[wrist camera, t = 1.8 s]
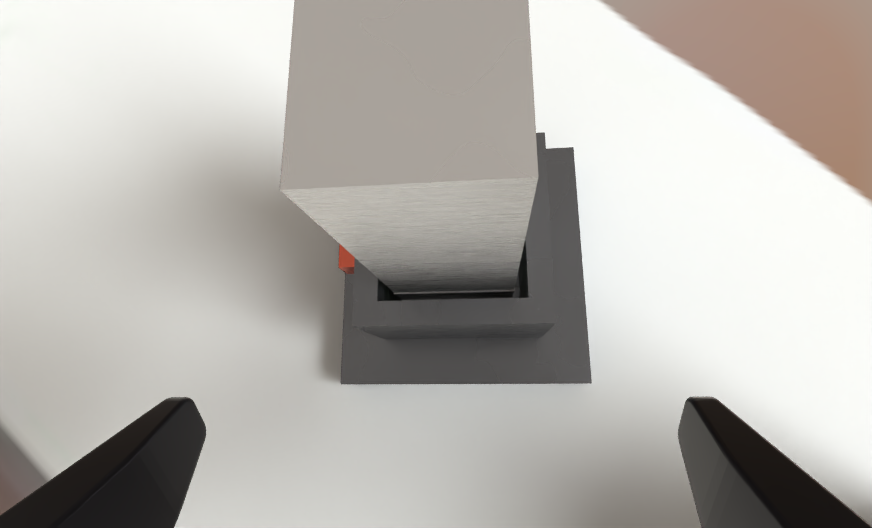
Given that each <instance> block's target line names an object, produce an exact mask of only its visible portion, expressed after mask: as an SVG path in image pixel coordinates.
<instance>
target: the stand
mask: <svg viewBox="0 0 872 528" xmlns="http://www.w3.org/2000/svg"><path fill="white" fill-rule="evenodd" d="M536 144H537V161H538V181H537V186H536V191H535V195H534V200H533V205H532V209H531V214H530V219H529V223H528V228H527V233H526V237H525V242H524V246H523V251H522V256H521V260H520V265H519V270H518V274H517V279H516V284H515V293H513V298H494V299H450V300H407V301H402V299H401V298H400V297H398V296H395V295H394V292H393V291H392V290H391V289H390V288H388V287H387V286H386V285H385V284H384V283H383V282H382V281H381V280H379V279H378V278H377V277H376V276H375V275H374V274H373V273H372V272H371V271H369V270H368V269H367V268H366V267H365V266H364V265H363V264H362V263H361V262H359V261H358V260H357V259H356V258H355V257H354V256H353V255H352V254H350V253H349V252H348V251H347V250H346V249H345V248H344V247H343V246H342V245H340V246H339V268H340V269H341V270H342V271H344V272H345V296H344V320H343V344H342V367H341V384H551V383H592V382H591V370H590V357H589V344H588V331H587V318H586V305H585V292H584V279H583V266H582V253H581V241H580V228H579V215H578V202H577V189H576V176H575V163H574V150H573V147H571V148H553V149H546V146H545V133H536Z"/></svg>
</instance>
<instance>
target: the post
mask: <svg viewBox="0 0 872 528" xmlns="http://www.w3.org/2000/svg"><path fill="white" fill-rule="evenodd" d="M537 181H538V161H537V144H536V126H535V109H534V92H533V75H532V57H531V40H530V23H529V5H528V0H295V2H294V14H293V27H292V40H291V53H290V66H289V78H288V91H287V104H286V117H285V129H284V142H283V155H282V168H281V181H280V191H281V192H282V193H284V194H285V195H286V196H287V197H288V198H289V199H290V200H291V201H292V202H294V203H295V204H296V205H297V206H298V207H299V208H300V209H301V210H303V211H304V212H305V213H306V214H307V215H308V216H309V217H310V218H311V219H313V220H314V221H315V222H316V223H317V224H318V225H319V226H320V227H321V228H323V229H324V230H325V231H326V232H327V233H328V234H329V235H330V236H332V237H333V238H334V239H335V240H336V241H337V242H338V243H339V244H340V245H342V246H343V247H344V248H345V249H346V250H347V251H348V252H349V253H350V254H352V255H353V256H354V257H355V258H356V259H357V260H358V261H359V262H361V263H362V264H363V265H364V266H365V267H366V268H367V269H368V270H369V271H371V272H372V273H373V274H374V275H375V276H376V277H377V278H378V279H379V280H381V281H382V282H383V283H384V284H385V285H386V286H387V287H388V288H390V289H391V290H392V291H393V292H394V295H395V296H398V297H400V298H401V299H402V301H407V300H450V299H494V298H513V293H515V284H516V279H517V274H518V270H519V265H520V260H521V256H522V251H523V246H524V242H525V237H526V233H527V228H528V223H529V219H530V214H531V209H532V205H533V200H534V195H535V191H536V186H537Z"/></svg>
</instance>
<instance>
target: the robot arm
mask: <svg viewBox="0 0 872 528" xmlns="http://www.w3.org/2000/svg"><path fill="white" fill-rule="evenodd" d="M205 437H206V426H205V424H204V422H203V419H202V417H201V415H200V413H199V411H198V409H197V407H196V405H195V403H194V402H193V400H192V399H190V398H187V397H171V398H168V399H165V400H164V401H162V402H161V403H159V404H158V405H157V406H155V407H154V408H152V409H151V410H149V411H148V412H147V413H145V414H144V415H142V416H141V417H140V418H138V419H137V420H135V421H134V422H132V423H131V424H130V425H128V426H127V427H125V428H124V429H122V430H121V431H120V432H118V433H117V434H115V435H114V436H113V437H111V438H110V439H108V440H107V441H105V442H104V443H103V444H101V445H100V446H98V447H97V448H95V449H94V450H93V451H91V452H90V453H88V454H87V455H86V456H84V457H83V458H81V459H80V460H78V461H77V462H76V463H74V464H73V465H71V466H70V467H68V468H67V469H66V470H64V471H63V472H61V473H60V474H59V475H57V476H56V477H54V478H53V479H51V480H50V481H49V482H47V483H46V484H44V485H43V486H41V487H40V488H39V489H37V490H36V491H34V492H33V493H31V494H30V495H29V496H27V497H26V498H24V499H23V500H22V501H20V502H19V503H17V504H16V505H14V506H13V507H12V508H10V509H9V510H7V511H6V512H4V513H3V514H2V515H0V528H174V526H175V524H176V521H177V519H178V517H179V514H180V511H181V509H182V506H183V503H184V500H185V497H186V494H187V491H188V488H189V485H190V482H191V479H192V476H193V473H194V471H195V468H196V465H197V462H198V459H199V456H200V453H201V450H202V447H203V444H204V441H205ZM678 439H679V444H680V448H681V452H682V455H683V459H684V463H685V467H686V470H687V474H688V478H689V482H690V486H691V489H692V493H693V497H694V501H695V504H696V508H697V512H698V516H699V519H700V523H701V526H702V528H872V526H871V525H869V524H868V523H867V522H866V521H864V520H863V519H862V518H861V517H860V516H858V515H857V514H856V513H855V512H854V511H852V510H851V509H850V508H849V507H847V506H846V505H845V504H844V503H843V502H841V501H840V500H839V499H838V498H836V497H835V496H834V495H833V494H832V493H830V492H829V491H828V490H827V489H826V488H824V487H823V486H822V485H821V484H819V483H818V482H817V481H816V480H815V479H813V478H812V477H811V476H810V475H809V474H807V473H806V472H805V471H804V470H802V469H801V468H800V467H799V466H798V465H796V464H795V463H794V462H793V461H792V460H790V459H789V458H788V457H787V456H785V455H784V454H783V453H782V452H781V451H779V450H778V449H777V448H776V447H775V446H773V445H772V444H771V443H770V442H768V441H767V440H766V439H765V438H764V437H762V436H761V435H760V434H759V433H758V432H756V431H755V430H754V429H753V428H751V427H750V426H749V425H748V424H747V423H745V422H744V421H743V420H742V419H740V418H739V417H738V416H737V415H736V414H734V413H733V412H732V411H731V410H730V409H728V408H727V407H726V406H725V405H723V404H722V403H721V402H720V401H719V400H717V399H715V398H713V397H689V398H688V399H687V400H686V402H685V405H684V409H683V413H682V416H681V420H680V424H679V429H678Z"/></svg>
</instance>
